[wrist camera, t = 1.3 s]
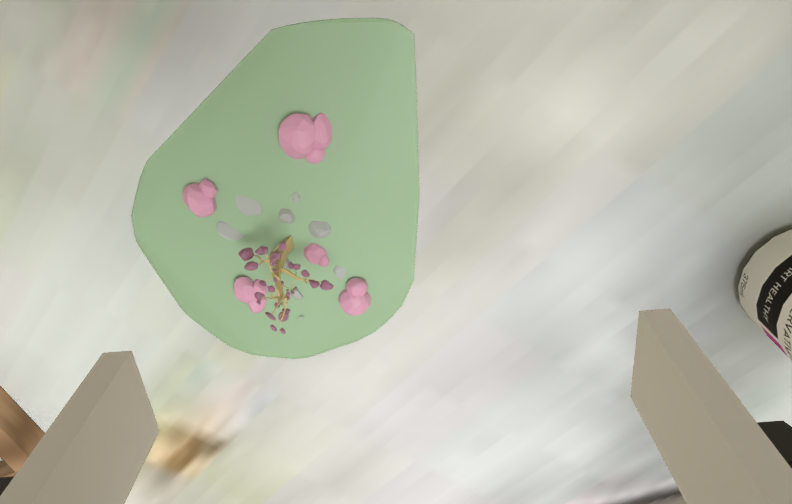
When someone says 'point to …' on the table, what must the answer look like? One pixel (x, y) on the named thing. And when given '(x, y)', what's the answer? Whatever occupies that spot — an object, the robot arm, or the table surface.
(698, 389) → the robot arm
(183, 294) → the miniature tree diorama
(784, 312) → the supplement can
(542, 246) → the table surface
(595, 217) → the table surface
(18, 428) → the slotted beam
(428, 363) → the table surface
